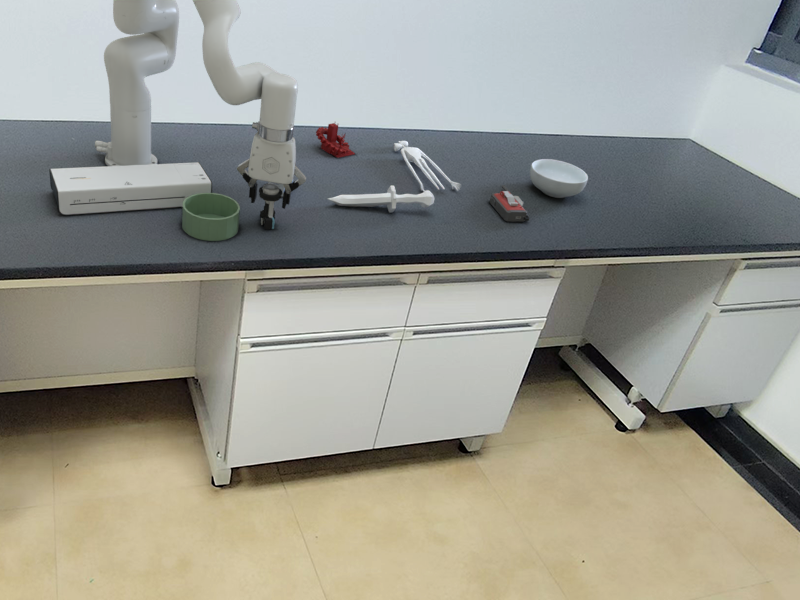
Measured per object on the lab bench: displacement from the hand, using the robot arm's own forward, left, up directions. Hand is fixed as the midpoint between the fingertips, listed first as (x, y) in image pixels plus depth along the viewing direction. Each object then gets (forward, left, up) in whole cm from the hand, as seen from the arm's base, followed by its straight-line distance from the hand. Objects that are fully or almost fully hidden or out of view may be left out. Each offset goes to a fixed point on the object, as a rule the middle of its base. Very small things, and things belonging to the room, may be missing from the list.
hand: (269, 202), depth 180 cm
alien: (+36, +47, -6) cm, 59 cm away
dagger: (+26, +17, -6) cm, 32 cm away
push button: (0, 0, -6) cm, 6 cm away
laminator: (-32, +1, -6) cm, 33 cm away
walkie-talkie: (+61, +33, -6) cm, 70 cm away
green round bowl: (-12, -6, -6) cm, 15 cm away
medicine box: (0, +19, -6) cm, 20 cm away
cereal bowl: (+77, +49, -6) cm, 91 cm away
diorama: (+11, +50, -6) cm, 52 cm away
